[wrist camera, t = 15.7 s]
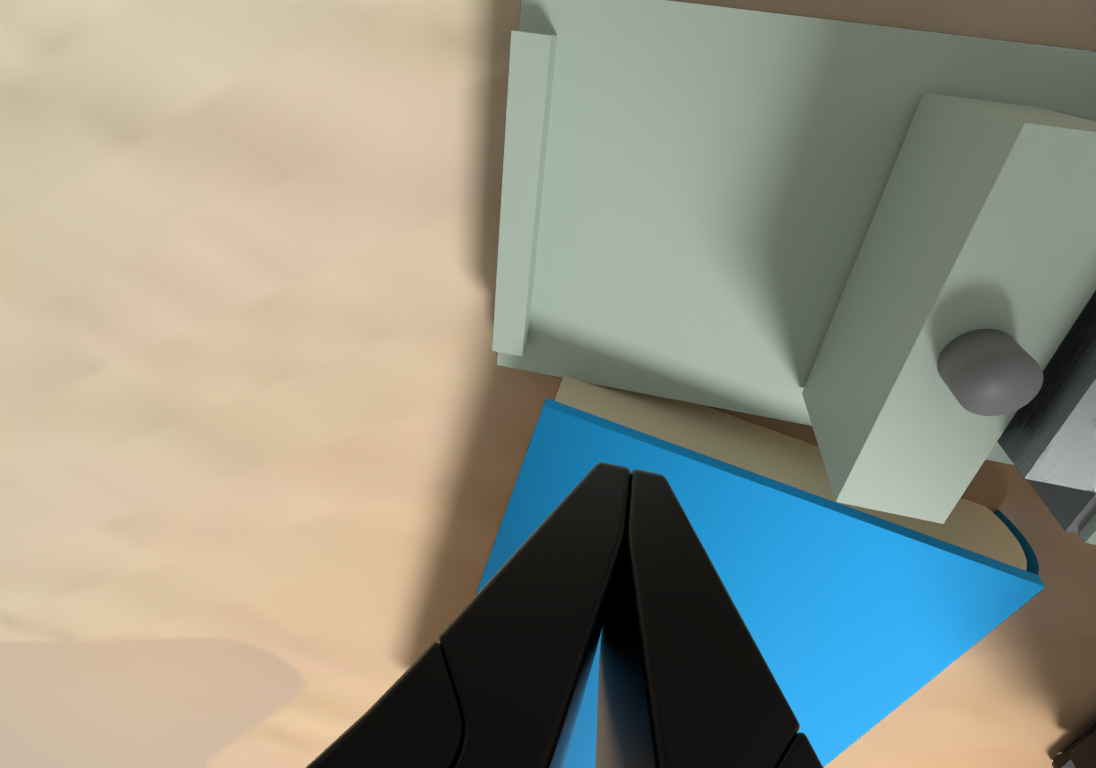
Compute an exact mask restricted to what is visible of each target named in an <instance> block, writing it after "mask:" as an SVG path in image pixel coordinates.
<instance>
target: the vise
mask: <svg viewBox="0 0 1096 768" xmlns="http://www.w3.org/2000/svg"><path fill="white" fill-rule="evenodd" d="M923 92H926V93H934V94H941V95H949V96H957V97H964V98H972V99H980V100H987V101H995V102H1003V103H1010V104H1018V105H1026V106H1033V107H1039V108H1043V109H1047V110H1054V111H1062V112H1066V113H1070V114H1074V115H1078V116H1082V117H1086V118H1091V119H1095V120H1096V51H1088V50H1080V49H1071V48H1063V47H1055V46H1046V45H1038V44H1029V43H1021V42H1013V41H1004V40H996V39H988V38H979V37H971V36H962V35H954V34H946V33H937V32H929V31H921V30H912V29H904V28H895V27H887V26H879V25H870V24H862V23H854V22H845V21H837V20H828V19H820V18H812V17H803V16H795V15H787V14H778V13H770V12H762V11H753V10H745V9H736V8H728V7H720V6H711V5H703V4H695V3H686V2H678V1H669V0H521V7H520V23H519V30H511V44H510V60H509V77H508V94H507V110H506V127H505V144H504V161H503V177H502V194H501V211H500V227H499V244H498V261H497V277H496V294H495V311H494V328H493V344H492V351H495V352H498V356H497V365H499V366H504V367H509V368H514V369H519V370H524V371H530V372H535V373H540V374H545V375H550V376H556V377H561V378H563V377H564V375H566V376H569V377H572V378H574V379H577V380H580V381H583V382H587V383H592V384H597V385H602V386H607V387H612V388H618V389H623V390H628V391H633V392H638V393H644V394H649V395H654V396H659V397H664V398H669V399H675V400H680V401H685V402H690V403H695V404H700V405H706V406H711V407H716V408H721V409H726V410H732V411H737V412H742V413H747V414H752V415H757V416H763V417H768V418H773V419H778V420H783V421H788V422H794V423H799V424H804V425H809V426H812V424H811V421H810V418H809V414H808V411H807V408H806V405H805V402H804V398H803V395H802V393H803V390H804V388H805V385H806V383H807V380H808V378H809V375H810V373H811V370H812V368H813V365H814V363H815V360H816V358H817V355H818V353H819V350H820V348H821V345H822V343H823V340H824V338H825V335H826V333H827V330H828V328H829V325H830V323H831V321H832V318H833V316H834V313H835V311H836V308H837V306H838V303H839V301H840V298H841V296H842V293H843V291H844V288H845V286H846V283H847V281H848V278H849V276H850V273H851V271H852V268H853V266H854V263H855V261H856V258H857V256H858V253H859V251H860V249H861V246H862V244H863V241H864V239H865V236H866V234H867V231H868V229H869V226H870V224H871V221H872V219H873V216H874V214H875V211H876V209H877V206H878V204H879V201H880V199H881V196H882V194H883V191H884V189H885V186H886V184H887V181H888V179H889V177H890V174H891V172H892V169H893V167H894V164H895V162H896V159H897V157H898V154H899V152H900V149H901V147H902V144H903V142H904V139H905V137H906V134H907V132H908V129H909V127H910V124H911V122H912V119H913V117H914V114H915V112H916V109H917V107H918V105H919V102H920V100H921V97H922V95H923ZM985 460H990V461H996V462H1001V463H1006V464H1011V465H1014V464H1013V462H1012V461H1011V460H1010V458H1009V457H1008V456H1007V454H1006V453H1005V451H1004V450H1003V449H1002V447H1001V446H1000V445H999V443H998V442H996V444H995V446H994V447H993V449H992V450H991V452H990V453H989V455H988V456H987V458H986V459H985ZM1027 480H1028V482H1029V483H1030V484H1031V486H1032V487H1033V488H1034V490H1035V491H1036V493H1037V494H1038V495H1039V497H1040V498H1041V499H1042V501H1043V502H1044V503H1045V505H1046V506H1047V507H1048V509H1049V510H1050V511H1051V513H1052V514H1053V515H1054V517H1055V518H1056V519H1057V521H1058V522H1059V523H1060V525H1061V526H1062V527H1063V529H1064V530H1065V531H1067V532H1072V533H1076V534H1079V535H1080V537H1081V538H1082V539H1083V541H1084V542H1085V543H1089V544H1093V545H1096V492H1091V491H1086V490H1081V489H1075V488H1070V487H1065V486H1060V485H1055V484H1050V483H1045V482H1040V481H1034V480H1029V479H1027Z"/></svg>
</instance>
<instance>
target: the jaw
mask: <svg viewBox="0 0 1096 768" xmlns="http://www.w3.org/2000/svg"><path fill="white" fill-rule="evenodd" d="M1095 290H1096V120H1095V119H1091V118H1086V117H1082V116H1078V115H1074V114H1070V113H1066V112H1062V111H1054V110H1047V109H1043V108H1039V107H1033V106H1026V105H1018V104H1010V103H1003V102H995V101H987V100H980V99H972V98H964V97H957V96H949V95H941V94H934V93H926V92H923V95H922V97H921V100H920V102H919V105H918V107H917V109H916V112H915V114H914V117H913V119H912V122H911V124H910V127H909V129H908V132H907V134H906V137H905V139H904V142H903V144H902V147H901V149H900V152H899V154H898V157H897V159H896V162H895V164H894V167H893V169H892V172H891V174H890V177H889V179H888V181H887V184H886V186H885V189H884V191H883V194H882V196H881V199H880V201H879V204H878V206H877V209H876V211H875V214H874V216H873V219H872V221H871V224H870V226H869V229H868V231H867V234H866V236H865V239H864V241H863V244H862V246H861V249H860V251H859V253H858V256H857V258H856V261H855V263H854V266H853V268H852V271H851V273H850V276H849V278H848V281H847V283H846V286H845V288H844V291H843V293H842V296H841V298H840V301H839V303H838V306H837V308H836V311H835V313H834V316H833V318H832V321H831V323H830V325H829V328H828V330H827V333H826V335H825V338H824V340H823V343H822V345H821V348H820V350H819V353H818V355H817V358H816V360H815V363H814V365H813V368H812V370H811V373H810V375H809V378H808V380H807V383H806V385H805V388H804V390H803V393H802V395H803V398H804V402H805V405H806V408H807V411H808V414H809V418H810V421H811V424H812V427H813V430H814V434H815V437H816V440H817V443H818V446H819V450H820V453H821V456H822V459H823V462H824V466H825V469H826V472H827V475H828V478H829V482H830V485H831V488H832V491H833V494H834V498H835V501H836V502H839V503H844V504H849V505H854V506H859V507H863V508H868V509H873V510H878V511H883V512H888V513H893V514H897V515H902V516H907V517H912V518H917V519H922V520H926V521H931V522H936V523H941V524H944V522H945V521H946V519H947V518H948V516H949V515H950V513H951V512H952V510H953V508H954V507H955V505H956V504H957V502H958V501H959V499H960V498H961V496H962V495H963V493H964V492H965V490H966V489H967V487H968V485H969V484H970V482H971V481H972V479H973V478H974V476H975V475H976V473H977V472H978V470H979V469H980V467H981V465H982V464H983V462H984V461H985V459H986V458H987V456H988V455H989V453H990V452H991V450H992V449H993V447H994V446H995V444H996V442H997V441H998V439H999V438H1000V436H1001V435H1002V433H1003V432H1004V430H1005V429H1006V427H1007V426H1008V424H1009V422H1010V421H1011V419H1012V418H1013V416H1014V415H1015V413H1016V412H1017V410H1018V409H1020V408H1022V407H1023V406H1025V405H1026V404H1028V403H1029V402H1030V401H1031V400H1032V399H1033V398H1034V397H1035V396H1036V395H1037V394H1038V392H1039V390H1040V389H1041V386H1042V383H1043V370H1044V369H1045V367H1046V366H1047V364H1048V363H1049V361H1050V359H1051V358H1052V356H1053V355H1054V353H1055V352H1056V350H1057V349H1058V347H1059V346H1060V344H1061V343H1062V341H1063V340H1064V338H1065V336H1066V335H1067V333H1068V332H1069V330H1070V329H1071V327H1072V326H1073V324H1074V323H1075V321H1076V320H1077V318H1078V316H1079V315H1080V313H1081V312H1082V310H1083V309H1084V307H1085V306H1086V304H1087V303H1088V301H1089V300H1090V298H1091V296H1092V295H1093V293H1094V292H1095Z"/></svg>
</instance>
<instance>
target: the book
mask: <svg viewBox="0 0 1096 768" xmlns="http://www.w3.org/2000/svg"><path fill="white" fill-rule="evenodd" d="M600 462H605V463H609V464H614V465H619V466H624V467H627V468H628V469H629V471H630V474H631V472H632V471H633V470H635V469H639V470H643V471H648V472H653V473H658V474H661V475H663V476H664V477H665V478H666V479H667V481H668V483H669V485H670V486H671V488H672V490H673V492H674V494H675V496H676V497H677V499H678V501H679V503H680V505H681V507H682V508H683V510H684V512H685V514H686V516H687V518H688V519H689V521H690V523H691V525H692V527H693V529H694V531H695V532H696V534H697V536H698V538H699V540H700V542H701V543H702V545H703V547H704V549H705V551H706V553H707V554H708V556H709V558H710V560H711V562H712V564H713V566H714V567H715V569H716V571H717V573H718V575H719V577H720V578H721V580H722V582H723V584H724V586H725V588H726V589H727V591H728V593H729V595H730V597H731V599H732V601H733V602H734V604H735V606H736V608H737V610H738V612H739V613H740V615H741V617H742V619H743V621H744V623H745V624H746V626H747V628H748V630H749V632H750V634H751V636H752V637H753V639H754V641H755V643H756V645H757V647H758V648H759V650H760V652H761V654H762V656H763V658H764V659H765V661H766V663H767V665H768V667H769V669H770V670H771V672H772V674H773V676H774V678H775V680H776V682H777V683H778V685H779V687H780V689H781V691H782V693H783V694H784V696H785V698H786V700H787V702H788V704H789V705H790V707H791V709H792V711H793V713H794V715H795V717H796V718H797V720H798V722H799V724H800V729H799V731H798V733H799V732H802V733H804V734H805V735H806V736H807V738H808V740H809V742H810V744H811V745H812V747H813V749H814V751H815V753H816V755H817V757H818V759H819V760H820V762H821V764H822V766H823V767H824V766H825V765H827V764H828V763H829V762H830V761H831V760H833V759H834V758H835V757H836V756H838V755H839V754H840V753H841V752H843V751H844V750H845V749H846V748H848V747H849V746H850V745H851V744H852V743H854V742H855V741H856V740H857V739H859V738H860V737H861V736H862V735H864V734H865V733H866V732H867V731H869V730H870V729H871V728H872V727H873V726H875V725H876V724H877V723H878V722H880V721H881V720H882V719H883V718H885V717H886V716H887V715H888V714H889V713H891V712H892V711H893V710H894V709H896V708H897V707H898V706H899V705H901V704H902V703H903V702H904V701H906V700H907V699H908V698H909V697H910V696H912V695H913V694H914V693H915V692H917V691H918V690H919V689H920V688H922V687H923V686H924V685H925V684H927V683H928V682H929V681H930V680H931V679H933V678H934V677H935V676H936V675H938V674H939V673H940V672H941V671H943V670H944V669H945V668H946V667H947V666H949V665H950V664H951V663H952V662H954V661H955V660H956V659H957V658H959V657H960V656H961V655H962V654H964V653H965V652H966V651H967V650H968V649H970V648H971V647H972V646H973V645H975V644H976V643H977V642H978V641H980V640H981V639H982V638H983V637H984V636H986V635H987V634H988V633H989V632H991V631H992V630H993V629H994V628H996V627H997V626H998V625H999V624H1001V623H1002V622H1003V621H1004V620H1005V619H1007V618H1008V617H1009V616H1010V615H1012V614H1013V613H1014V612H1015V611H1017V610H1018V609H1019V608H1020V607H1022V606H1023V605H1024V604H1025V603H1026V602H1028V601H1029V600H1030V599H1031V598H1033V597H1034V596H1035V595H1036V594H1038V593H1039V592H1040V591H1041V590H1042V589H1044V588H1045V585H1044V584H1043V582H1042V581H1041V579H1040V577H1039V576H1038V573H1039V566H1038V561H1037V558H1036V556H1035V554H1034V552H1033V550H1032V548H1031V546H1030V545H1029V543H1028V542H1027V540H1026V539H1025V537H1024V536H1023V535H1022V534H1021V532H1020V531H1019V530H1018V529H1017V528H1016V527H1015V526H1014V525H1013V524H1012V523H1011V522H1010V520H1009V519H1007V518H1006V517H1005V516H1004V515H1003V514H1002V513H1001V512H1000V511H999V510H998V509H997V510H996V511H995V512H994V513H993V512H992V511H991V510H990V509H989V508H988V507H985V506H982V505H980V504H977V503H974V502H971V501H969V500H966V499H963V498H960V499H959V501H958V502H957V504H956V505H955V507H954V508H953V510H952V512H951V513H950V515H949V516H948V518H947V519H946V521H945V522H944V524H941V523H936V522H931V521H926V520H922V519H917V518H912V517H907V516H902V515H897V514H893V513H888V512H883V511H878V510H873V509H868V508H863V507H859V506H854V505H849V504H844V503H839V502H836V501H835V498H834V494H833V491H832V488H831V485H830V482H829V478H828V475H827V472H826V469H825V466H824V462H823V459H822V456H821V453H820V450H819V447H818V446H816V445H813V444H810V443H807V442H804V441H802V440H799V439H796V438H793V437H791V436H788V435H785V434H782V433H779V432H777V431H774V430H771V429H768V428H765V427H763V426H760V425H757V424H754V423H752V422H749V421H746V420H743V419H740V418H738V417H735V416H732V415H729V414H727V413H724V412H721V411H718V410H715V409H713V408H710V407H707V406H704V405H700V404H695V403H690V402H685V401H680V400H675V399H669V398H664V397H659V396H654V395H649V394H644V393H638V392H633V391H628V390H623V389H618V388H612V387H607V386H602V385H597V384H592V383H587V382H583V381H580V380H577V379H574V378H572V377H569V376H566V375H564V377H563V378H562V381H561V384H560V386H559V389H558V392H557V395H556V397H555V400H551V399H548V398H546V400H545V403H544V405H543V408H542V411H541V414H540V417H539V419H538V422H537V425H536V428H535V431H534V433H533V436H532V439H531V442H530V445H529V447H528V450H527V453H526V456H525V459H524V461H523V464H522V467H521V470H520V473H519V475H518V478H517V481H516V484H515V487H514V489H513V492H512V495H511V498H510V501H509V503H508V506H507V509H506V512H505V515H504V517H503V520H502V523H501V526H500V529H499V531H498V534H497V537H496V540H495V543H494V545H493V548H492V551H491V554H490V557H489V559H488V562H487V565H486V568H485V571H484V573H483V576H482V579H481V582H480V585H479V587H478V590H477V593H476V595H477V594H478V593H479V592H480V591H481V590H482V589H483V587H484V586H485V585H486V584H487V583H488V582H489V581H490V580H491V579H492V578H493V576H494V575H495V574H496V573H497V572H498V571H499V570H500V569H501V568H502V567H503V566H504V564H505V563H506V562H507V561H508V560H509V559H510V558H511V557H512V556H513V555H514V554H515V552H516V551H517V550H518V549H519V548H520V547H521V546H522V545H523V544H524V543H525V542H526V540H527V539H528V538H529V537H530V536H531V535H532V534H533V533H534V532H535V531H536V530H537V528H538V527H539V526H540V525H541V524H542V523H543V522H544V521H545V520H546V519H547V518H548V516H549V515H550V514H551V513H552V512H553V511H554V510H555V509H556V508H557V507H558V505H559V504H560V503H561V502H562V501H563V500H564V499H565V498H566V497H567V496H568V495H569V493H570V492H571V491H572V490H573V489H574V488H575V487H576V486H577V485H578V484H579V483H580V481H581V480H582V479H583V478H584V477H585V476H586V475H587V474H588V473H589V472H590V471H591V469H592V468H593V467H594V466H595V465H596V464H598V463H600ZM601 633H602V630H601ZM600 641H601V635H600V639H599V643H598V647H597V650H596V654H595V658H594V662H593V665H592V669H591V672H590V676H589V679H588V683H587V686H586V689H585V693H584V696H583V700H582V703H581V707H580V710H579V714H578V717H577V720H576V724H575V727H574V731H573V734H572V738H571V741H570V745H569V748H568V751H567V755H566V758H565V762H564V765H563V768H595V764H596V735H597V706H598V677H599V655H600Z"/></svg>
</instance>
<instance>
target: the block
mask: <svg viewBox="0 0 1096 768" xmlns="http://www.w3.org/2000/svg"><path fill="white" fill-rule="evenodd" d="M997 442H998V443H999V445H1000V446H1001V447H1002V449H1003V450H1004V451H1005V453H1006V454H1007V456H1008V457H1009V458H1010V460H1011V461H1012V462H1013V464H1014V465H1015V466H1016V468H1017V469H1018V470H1019V472H1020V473H1021V474H1022V476H1023V477H1024V479H1029V480H1034V481H1040V482H1045V483H1050V484H1055V485H1060V486H1065V487H1070V488H1075V489H1081V490H1086V491H1091V492H1096V290H1095V292H1094V293H1093V295H1092V296H1091V298H1090V300H1089V301H1088V303H1087V304H1086V306H1085V307H1084V309H1083V310H1082V312H1081V313H1080V315H1079V316H1078V318H1077V320H1076V321H1075V323H1074V324H1073V326H1072V327H1071V329H1070V330H1069V332H1068V333H1067V335H1066V336H1065V338H1064V340H1063V341H1062V343H1061V344H1060V346H1059V347H1058V349H1057V350H1056V352H1055V353H1054V355H1053V356H1052V358H1051V359H1050V361H1049V363H1048V364H1047V366H1046V367H1045V369H1044V370H1043V383H1042V386H1041V389H1040V390H1039V392H1038V394H1037V395H1036V396H1035V397H1034V398H1033V399H1032V400H1031V401H1030V402H1029V403H1028V404H1026V405H1025V406H1023V407H1022V408H1020V409H1018V410H1017V412H1016V413H1015V415H1014V416H1013V418H1012V419H1011V421H1010V422H1009V424H1008V426H1007V427H1006V429H1005V430H1004V432H1003V433H1002V435H1001V436H1000V438H999V439H998V441H997Z"/></svg>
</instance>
